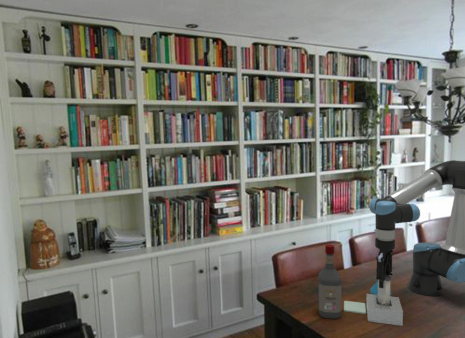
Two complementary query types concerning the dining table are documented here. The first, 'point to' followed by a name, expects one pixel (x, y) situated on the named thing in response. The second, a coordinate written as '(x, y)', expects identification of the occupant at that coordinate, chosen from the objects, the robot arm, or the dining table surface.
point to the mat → (354, 307)
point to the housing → (384, 311)
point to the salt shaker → (386, 299)
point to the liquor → (329, 288)
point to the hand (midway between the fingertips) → (384, 292)
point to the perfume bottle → (376, 289)
